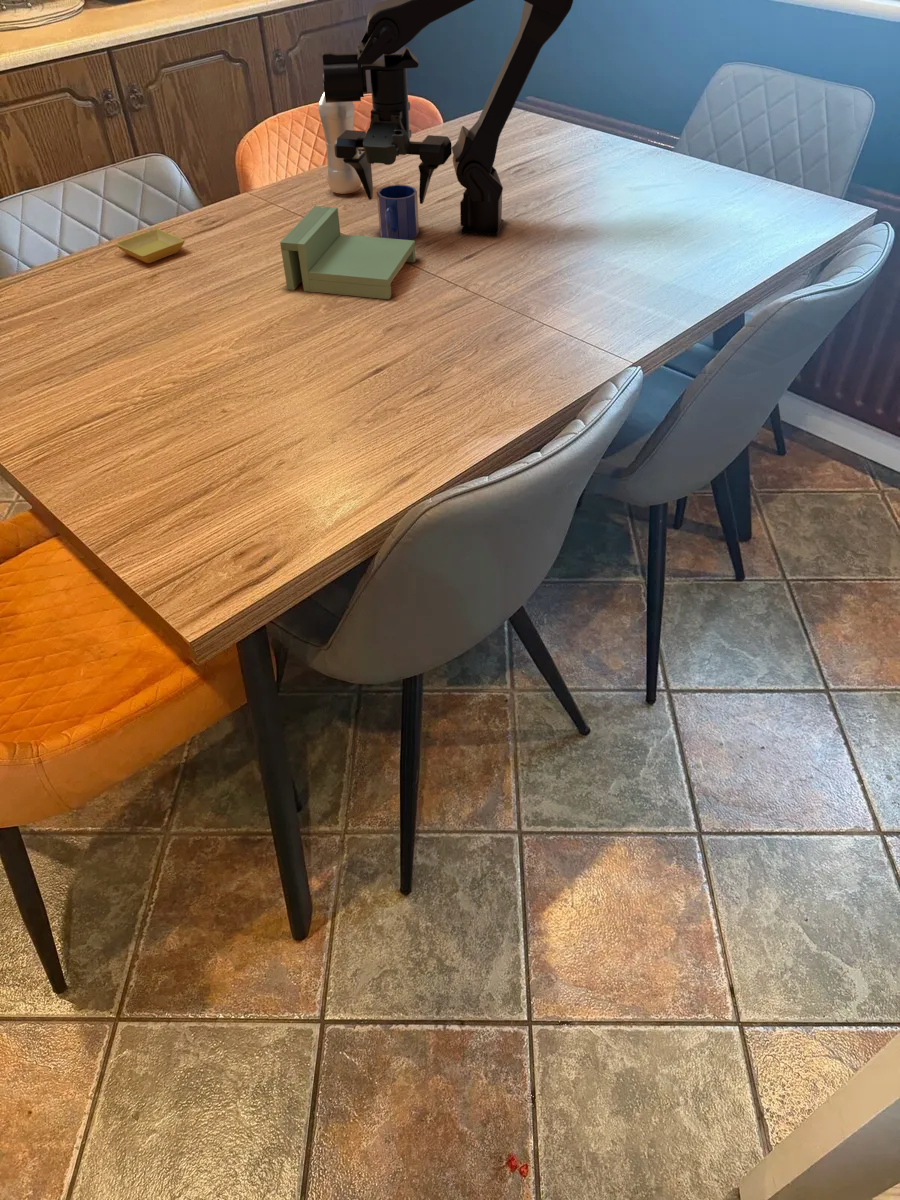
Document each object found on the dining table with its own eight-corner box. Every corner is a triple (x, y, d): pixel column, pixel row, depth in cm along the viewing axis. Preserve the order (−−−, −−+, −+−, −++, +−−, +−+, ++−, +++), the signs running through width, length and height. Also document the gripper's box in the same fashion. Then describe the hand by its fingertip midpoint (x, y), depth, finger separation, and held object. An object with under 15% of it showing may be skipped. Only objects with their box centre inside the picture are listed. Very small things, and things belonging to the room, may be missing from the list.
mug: (422, 227, 153) (421, 186, 148) (408, 248, 147) (406, 205, 142) (387, 224, 154) (384, 183, 149) (371, 244, 148) (367, 202, 143)
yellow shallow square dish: (117, 254, 147) (113, 242, 146) (160, 239, 152) (157, 227, 150) (145, 268, 143) (142, 256, 142) (188, 252, 147) (185, 240, 146)
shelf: (415, 259, 144) (413, 213, 138) (389, 299, 133) (385, 251, 128) (320, 250, 147) (314, 205, 141) (287, 289, 137) (279, 242, 131)
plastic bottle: (357, 198, 163) (346, 79, 149) (323, 197, 164) (309, 78, 150) (366, 186, 168) (356, 69, 154) (333, 184, 169) (320, 68, 155)
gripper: (317, 111, 133) (328, 214, 144) (433, 118, 129) (436, 223, 140) (341, 91, 141) (350, 190, 152) (451, 97, 137) (453, 198, 148)
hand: (396, 201), depth 148 cm, fingers open, 9 cm apart
